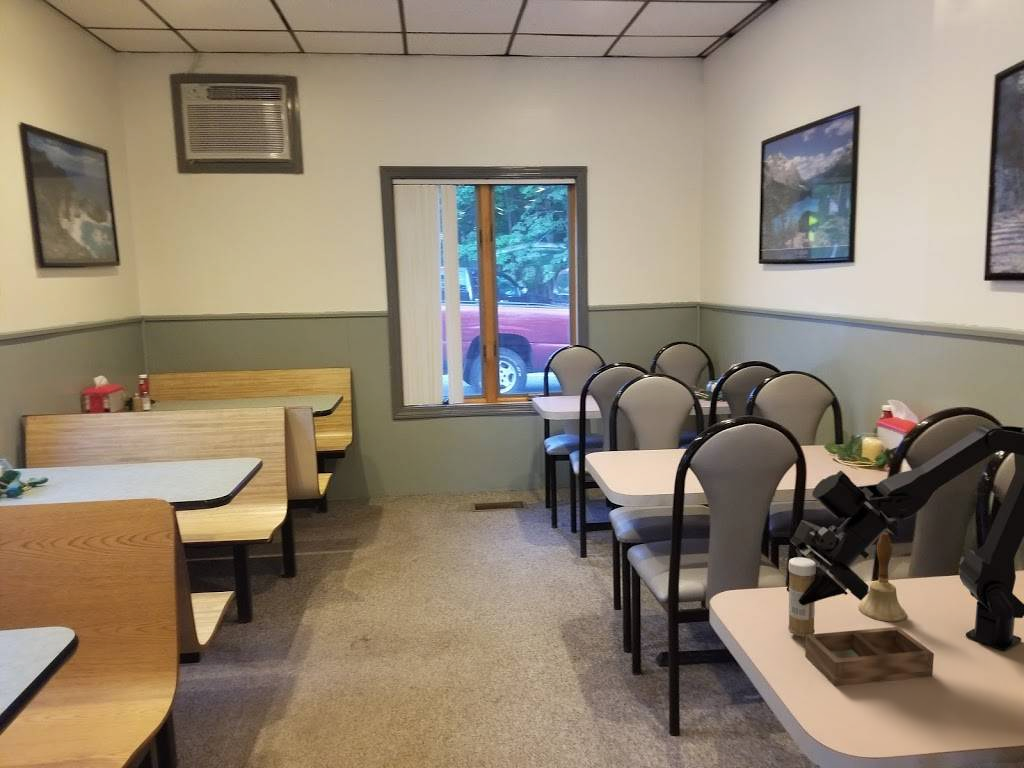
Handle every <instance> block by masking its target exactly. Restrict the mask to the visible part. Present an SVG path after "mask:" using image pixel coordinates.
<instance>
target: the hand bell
mask: <svg viewBox="0 0 1024 768" xmlns="http://www.w3.org/2000/svg"><path fill="white" fill-rule="evenodd" d="M877 540H878V541H877V544H876V555H877V559H878V564H879V566H878V580H874V581H872V582H870V585H869V593H868V594H867V595H866V598H865V599H863V600H861V601H860V603H859V604H858V611H859V612H860V613H861V614H862V615H865V617H868V618H871V619H874V620H877V621H881V622H889V623H890V622H891V623H892V622H899V621H903V620H904V619H906V618H907V612H906V610H905V609H904V608H903V607H902V606H901V604H900V603H899V600H898V595H897V588H896V586H895V585H894V584H893V583H890V582H889V564H890V561H891V559H892V553H893V547H892V545H893V544H892V541H891V539H890V533H889V532H887V531H884V533H883V534H882V535H881V536H880V537H879V538H878V539H877Z"/></svg>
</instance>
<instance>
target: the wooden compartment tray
mask: <svg viewBox="0 0 1024 768" xmlns="http://www.w3.org/2000/svg"><path fill="white" fill-rule="evenodd" d="M804 651H805V652H804V657H805V658H807V660H808V661H809V662H810V663H811V664H812V665H813V666H814V667H815V668H816V669H817V670H818V671H819V672H820V673H821V674H822V675H823V676H824V677H825V678H826V679H827V680H828V681H829V682H830V683H831V684H832V685H833V686H836V687H837V686H843V685H846V686H847V685H855V684H857V685H858V684H865V683H867V684H868V683H876V682H885V681H886V682H887V681H897V680H908V679H918V678H919V679H920V678H927V677H929V678H931V677H933V672H934V658H935V654H934V652H932V651H931V649H928V648H927V647H926V646H925V645H923V644H922V643H920V642H919V641H918V640H916V639H915V638H914V637H913V636H911V635H910V634H909V633H907V632H906V631H904V630H903V629H902V628H901V627H899V626H891V627H890V626H889V627H880V628H869V629H857V630H846V631H844V630H843V631H834V632H823V633H814V634H809V635H806V637H805V650H804Z"/></svg>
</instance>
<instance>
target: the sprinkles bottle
mask: <svg viewBox="0 0 1024 768" xmlns="http://www.w3.org/2000/svg"><path fill="white" fill-rule="evenodd" d="M788 572H789V582H788V585H789V592H788V626H787V629H788V631H789V633H791V634H793V635H795V636H796V637H797V636H799V637H802V638H803V637H804V638H806V635H809V634H815V631H816V630H815V614H816V609H815V608H816V607H815V606H816V604H815V603H816V601H815V602H812V603H809V604H806V605H801V604H800V603H799V602H798V601H799V599H800V598H801V596H802V595H803V594H804V592H805V591H806V590H807V589H808V588H809V586H810V585H811V584H812V583H813V582H814V580H815V573H816V563H815V562H814V561H813V560H811V559H807V558H801V557H798V556H797V557H793V558H790V559H789V561H788Z"/></svg>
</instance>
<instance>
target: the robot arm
mask: <svg viewBox="0 0 1024 768" xmlns="http://www.w3.org/2000/svg"><path fill="white" fill-rule="evenodd" d="M997 452H1005V453H1010V454H1013V457H1014V459H1013V460H1014V474H1013V477H1012V479H1011V481H1010V483H1009V486H1008V488H1007V490H1006V492H1005V495H1004V497H1003V500H1002V502H1001V504H1000V507H999V509H998V512H997V514H996V516H995V518H994V520H993V523H992V525H991V527H990V530H989V532H988V534H987V536H986V540H985V541H984V543H983V545H982V546H980V547H979V548H978V549H976V550H975V551H973V550H971V549H969V548H967V549H966V550H965V552H964V556H963V560H962V562H961V563H960V564H959V565H958V566H957V569H959V571H960V572H959V579H960V581H961V582H962V585H963V586H964V587H965V588H966V589H967V590H968V591H969V593H970V596H971V597H973V598H974V599H975V600H976V601H977V602H976V610H975V622H974V628H972V629H971V630H969V631H967V632H965V637H967V638H968V639H972V640H974V641H976V642H980V643H981V644H985V645H988V646H990V647H991V648H995V649H997V650H1000V651H1004V652H1006V651H1008V650H1009V649H1011V648H1012V647H1014V646H1016V645H1017V644H1019V643H1021V642H1022V638H1021V637H1020V636H1017V635H1014V632H1015V631H1014V630H1015V621H1016V619H1023V618H1024V602H1023V601H1021V599H1019V598H1018V597H1017V596H1016V595H1015V594H1014V593H1013V592H1014V589H1015V583H1016V579H1017V576H1016V574H1017V573H1016V562H1015V561H1016V557H1017V554H1018V552H1019V549H1020V547H1021V545H1022V543H1023V541H1024V427H1022V426H1014V425H1013V426H1012V425H995V424H991V423H984V424H981V425H979V426H978V427H977V428H975V430H974V431H973V432H971V433H969V434H968V435H966V436H964V437H963V438H961V439H960V440H958V441H957V442H955V443H954V444H952V445H950V446H949V447H947V448H946V449H945V450H943V451H941V452H940V453H939V454H937V455H935V456H934V457H932V458H931V459H929V460H928V461H926V462H924V463H923V464H921V465H920V466H918V467H915V468H913V469H910V470H907V471H902V472H897V473H895V474H893V475H891V476H889V477H887V478H885V479H883V480H881V481H879V482H878V483H876V484H866V485H859V486H858V485H856V484H855V483H854V482H853V481H852V479H851V478H850V477H849V476H848V475H847V474H846V473H845V472H844V471H842V470H839V471H838V472H837V473H835V474H832V475H829V476H827V477H825V478H823V479H821V480H820V481H819V482H818V483H817V484H816V485H815V487H814V489H813V490H812V493H811V494H812V497H813V498H814V499H815V500H816V501H817V502H818V503H820V505H822V506H823V507H824V508H825V509H826V510H827V511H829V513H830V514H831V515H832V516H833V517H835V518H837V519H842V518H843V519H844V522H843V523H842V524H841V525H840V526H839V527H837V526H836V525H835V524H833V525H831V526H829V527H828V528H827V527H826V526H823V527H821V526H819V525H816V524H814V523H812V522H809V521H808V520H807V521H806V520H804V519H802V520H800V523H799V525H798V527H797V529H796V530H795V533H794V534H793V536H792V537H791V538H790V539H789V541H790V543H792V544H793V546H795V547H796V549H795V552H796V553H797V557H801V558H807V559H811V560H813V561H814V562H815V563H816V573H815V580H814V582H813V583H812V584H811V585H810V586H809V588H808V589H807V590H806V591H805V592H804V594H803V595H802V596H801V598H800V599H799V601H798V602H799V603H800V604H801V605H806V604H809V603H812V602H815V603H816V602H819V601H822V600H824V599H825V600H826V599H827V598H831V597H836V596H839V595H845V596H847V595H848V594H849V593H848V592H847V591H846V590H848V591H850V593H851V594H852V595H853V596H854V597H855V598H856V599H858V600H859V601H860V602H862V601H863V600H864V598H865V597H867V596H868V593H869V589H870V585H868V584H867V583H866V582H865V581H864V580H863V579H862V578H861V577H860V576H859V575H857V573H856V572H855V571H853V570H852V569H851V568H850V567H851V566H852V565H853V564H854V563H855V562H856V561H857V560H858V559H859V558H860V557H862V558H863V559H864V560H866V559H867V558H868V557H869V556H870V554H869V553H868V552H867V550H869V547H871V546H872V545H873V544H874V543H875V542H876V541H877V540H879V538H880V536H881V535H882V534H883V533H884V532H887V533H889V534H891V535H894V536H895V537H899V536H900V530H899V520H898V519H902V520H906V519H910V518H912V517H913V516H915V515H916V514H917V513H918V512H919V511H920V510H922V509H923V508H924V507H925V506H926V505H927V504H928V503H929V501H930V500H931V498H932V497H933V495H934V494H935V493H936V492H937V491H938V490H939V489H940V488H942V487H943V486H945V485H947V484H948V483H950V482H952V481H953V480H955V479H956V478H957V477H959V476H961V475H963V474H964V473H966V472H968V471H969V470H971V469H972V468H973V467H975V466H977V465H979V464H980V463H981V462H983V461H984V460H986V459H987V458H989V457H991V456H992V455H994V454H996V453H997ZM866 503H868V504H869V505H870V506H871V507H872V508H870V507H869V506H868V505H867V504H866ZM884 512H885V513H888V515H889V516H890V517H889V518H888V517H887V515H885V514H884ZM820 566H823V568H825V569H826V571H824V569H822V567H820ZM786 591H787V592H788V593H789V584H787V587H786Z"/></svg>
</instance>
